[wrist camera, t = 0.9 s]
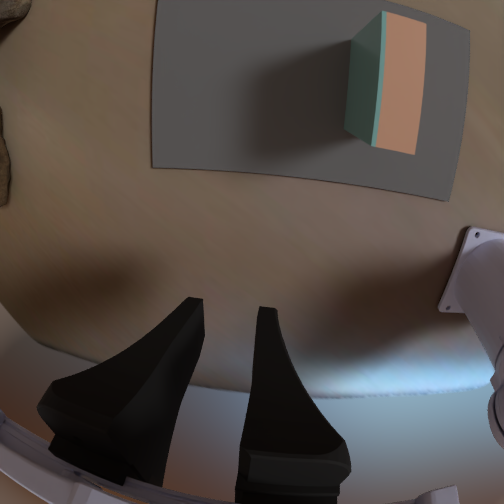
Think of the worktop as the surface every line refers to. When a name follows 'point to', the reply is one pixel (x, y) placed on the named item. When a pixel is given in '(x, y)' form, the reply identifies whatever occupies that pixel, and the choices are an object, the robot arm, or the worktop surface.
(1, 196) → the sculpture
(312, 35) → the mat
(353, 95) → the tile
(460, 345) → the worktop surface
